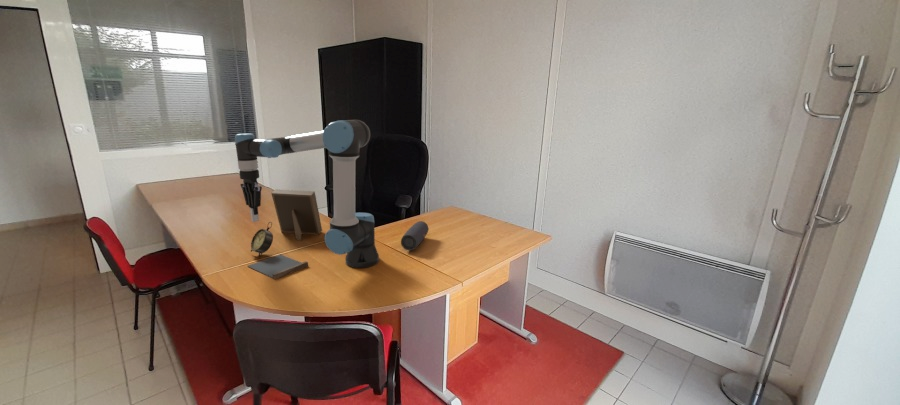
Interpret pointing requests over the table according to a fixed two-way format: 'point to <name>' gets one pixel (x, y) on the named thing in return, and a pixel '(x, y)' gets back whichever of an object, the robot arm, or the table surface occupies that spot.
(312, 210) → the photo frame
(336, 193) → the robot arm
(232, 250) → the table surface
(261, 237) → the alarm clock
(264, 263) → the mat
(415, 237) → the bluetooth speaker
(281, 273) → the stop strip
